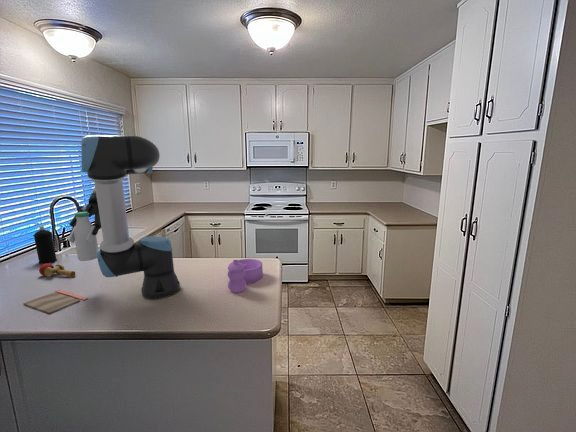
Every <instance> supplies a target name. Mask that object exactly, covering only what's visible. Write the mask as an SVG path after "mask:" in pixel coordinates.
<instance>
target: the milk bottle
mask: <svg viewBox="0 0 576 432" xmlns="http://www.w3.org/2000/svg"><path fill="white" fill-rule="evenodd" d="M77 212H78V211H77ZM77 212H75V214H74V216H76V219H77V223H76V226H75V230H74V237H75V241H74V244H75V249H76V255H77V260H78V261H80V262H86V261H93V260H96V259H97V255H96V250H97V249H99V246H98V245H99V244H98V240H97V239H98V238H97V235H95V237H94V239H93V241H92V243H89V242H88V241H87V240H86V238H87V236H88V234H89V232H90V230H91V228H92V226H93V224H92V223H91V222H90V219H89V218H90V217H89V213H88V212H78V213H77ZM88 217H89V218H88Z"/></svg>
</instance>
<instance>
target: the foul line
mask: <svg viewBox="0 0 576 432" xmlns="http://www.w3.org/2000/svg"><path fill="white" fill-rule="evenodd" d="M54 292H56V293H59V294H62V295H66V296H69V297H72V298H75V299H79V300H80V301H84V302H85V301H87V300H89V298H88V297H85V296H81V295H78V294H74V293H73V292H72V293H71V292H68V291H65V290H61V289H56V290H55V291H54Z"/></svg>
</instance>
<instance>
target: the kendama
mask: <svg viewBox="0 0 576 432" xmlns="http://www.w3.org/2000/svg"><path fill="white" fill-rule="evenodd" d="M38 271H39V274H40V275H41V276H44V277H52V276H53V275H54V274H56V275H61V276H67V277H69V278H74V277H75V276H76V271H73V270H67V269H66V270H65V267H64V265H63V264H61V263H60V264H56V265H53V263H46V264H41V265H40V266H39V268H38Z"/></svg>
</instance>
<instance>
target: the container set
mask: <svg viewBox="0 0 576 432" xmlns="http://www.w3.org/2000/svg"><path fill="white" fill-rule="evenodd" d="M227 270H228V271H227V277H228V279H229V280H228V284H227V288H228V290H229V291H230V292H231V293H233V294H238V293H242V292H244V291H245V289H246V287H247V285H250V284H251V285H252V284H255V283H258V282H259V281H261V280H262V279H263V277H264V275H263V274H264V272H263V262H262V261H261V260H258V259H255V258H243V259H242V258H241V259H233V260H232V261H231V262H230V263H229V264H228V266H227Z"/></svg>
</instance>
